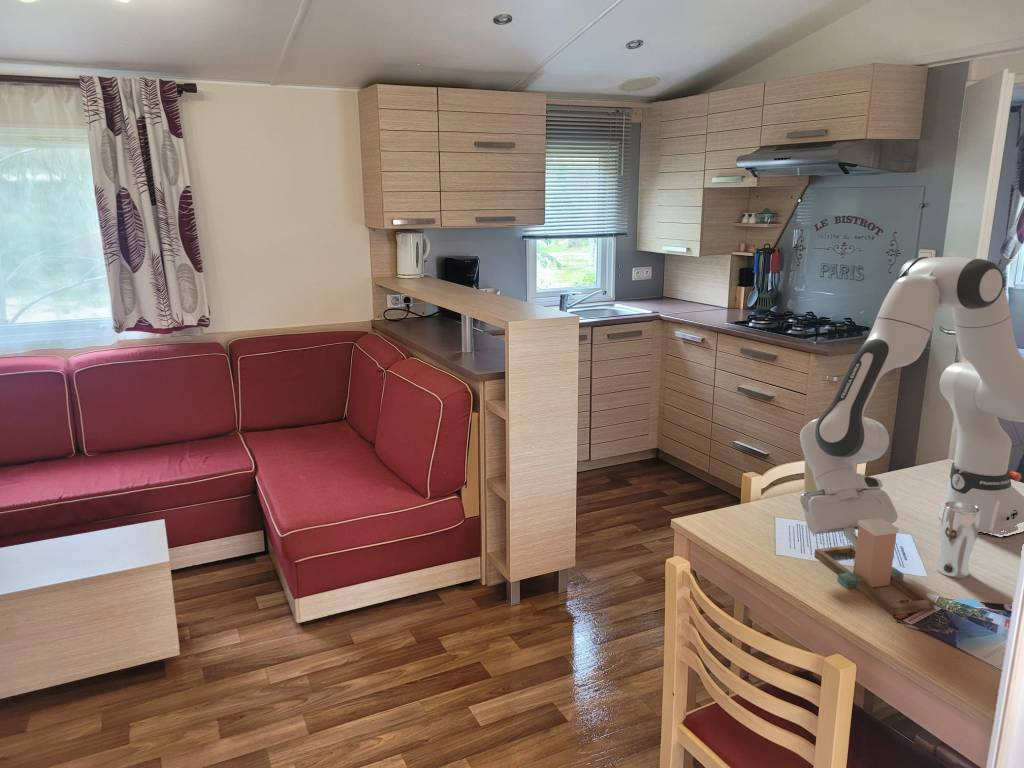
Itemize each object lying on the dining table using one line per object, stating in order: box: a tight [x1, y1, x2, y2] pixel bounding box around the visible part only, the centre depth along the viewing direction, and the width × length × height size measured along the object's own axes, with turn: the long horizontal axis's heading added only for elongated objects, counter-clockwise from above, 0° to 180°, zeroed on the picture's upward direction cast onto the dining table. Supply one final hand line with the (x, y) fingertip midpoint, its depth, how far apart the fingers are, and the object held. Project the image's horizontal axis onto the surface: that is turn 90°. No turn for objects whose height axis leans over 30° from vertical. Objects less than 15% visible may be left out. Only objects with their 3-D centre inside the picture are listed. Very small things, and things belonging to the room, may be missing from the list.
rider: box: [852, 518, 899, 588], centre depth 155 cm, size 5×5×13 cm
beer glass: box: [935, 501, 981, 579], centre depth 159 cm, size 7×7×15 cm
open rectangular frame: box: [813, 544, 936, 616], centre depth 157 cm, size 13×25×2 cm, turn 13°
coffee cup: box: [803, 457, 818, 493], centre depth 201 cm, size 9×9×12 cm
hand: (863, 548), depth 158 cm, fingers closed, pressing on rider
